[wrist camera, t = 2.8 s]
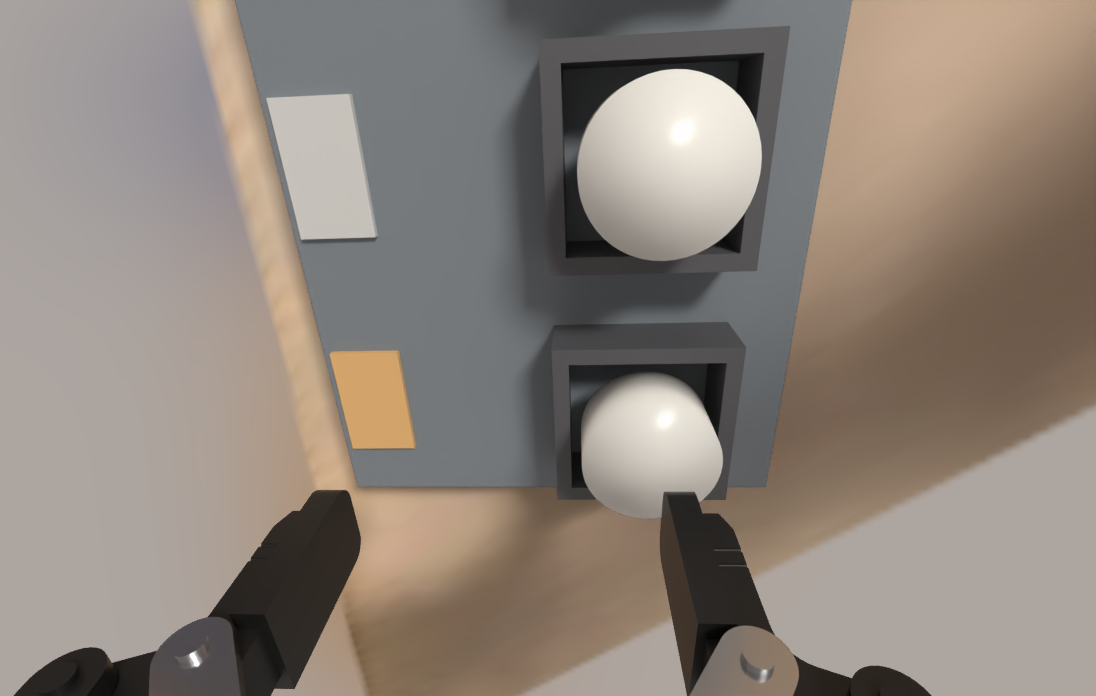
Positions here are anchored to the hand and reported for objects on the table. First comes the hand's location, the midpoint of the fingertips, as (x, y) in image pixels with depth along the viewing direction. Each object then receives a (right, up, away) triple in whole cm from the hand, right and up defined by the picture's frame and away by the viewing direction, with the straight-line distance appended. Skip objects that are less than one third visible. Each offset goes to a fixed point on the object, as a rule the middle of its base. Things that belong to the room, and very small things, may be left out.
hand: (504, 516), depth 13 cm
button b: (+4, +9, 0) cm, 10 cm away
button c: (+4, +2, +3) cm, 6 cm away
